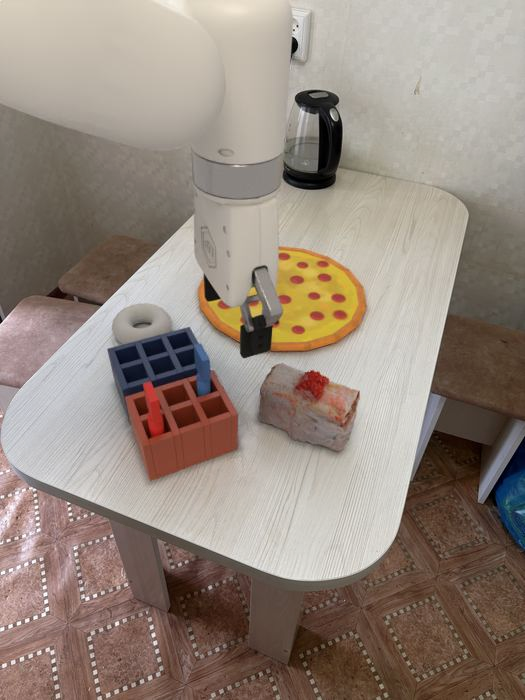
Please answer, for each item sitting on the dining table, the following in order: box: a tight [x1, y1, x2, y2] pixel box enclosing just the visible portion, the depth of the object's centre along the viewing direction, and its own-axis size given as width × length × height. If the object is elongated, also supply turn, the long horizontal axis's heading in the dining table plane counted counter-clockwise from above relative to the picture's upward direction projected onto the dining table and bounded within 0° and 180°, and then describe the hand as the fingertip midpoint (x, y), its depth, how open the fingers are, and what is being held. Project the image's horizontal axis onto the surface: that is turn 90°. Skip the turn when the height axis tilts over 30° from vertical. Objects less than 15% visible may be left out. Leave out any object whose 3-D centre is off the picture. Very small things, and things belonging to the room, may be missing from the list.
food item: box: [258, 362, 361, 453], centre depth 71 cm, size 14×8×10 cm, turn 66°
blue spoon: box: [194, 343, 211, 397], centre depth 69 cm, size 2×3×14 cm, turn 26°
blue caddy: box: [107, 326, 200, 427], centre depth 75 cm, size 13×9×8 cm
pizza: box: [197, 245, 368, 352], centre depth 96 cm, size 32×32×1 cm
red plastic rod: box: [143, 381, 165, 438], centre depth 64 cm, size 2×3×14 cm, turn 26°
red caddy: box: [125, 369, 239, 482], centre depth 69 cm, size 13×9×8 cm
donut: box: [111, 303, 173, 345], centre depth 86 cm, size 10×4×10 cm
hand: (236, 323), depth 54 cm, fingers open, 9 cm apart
